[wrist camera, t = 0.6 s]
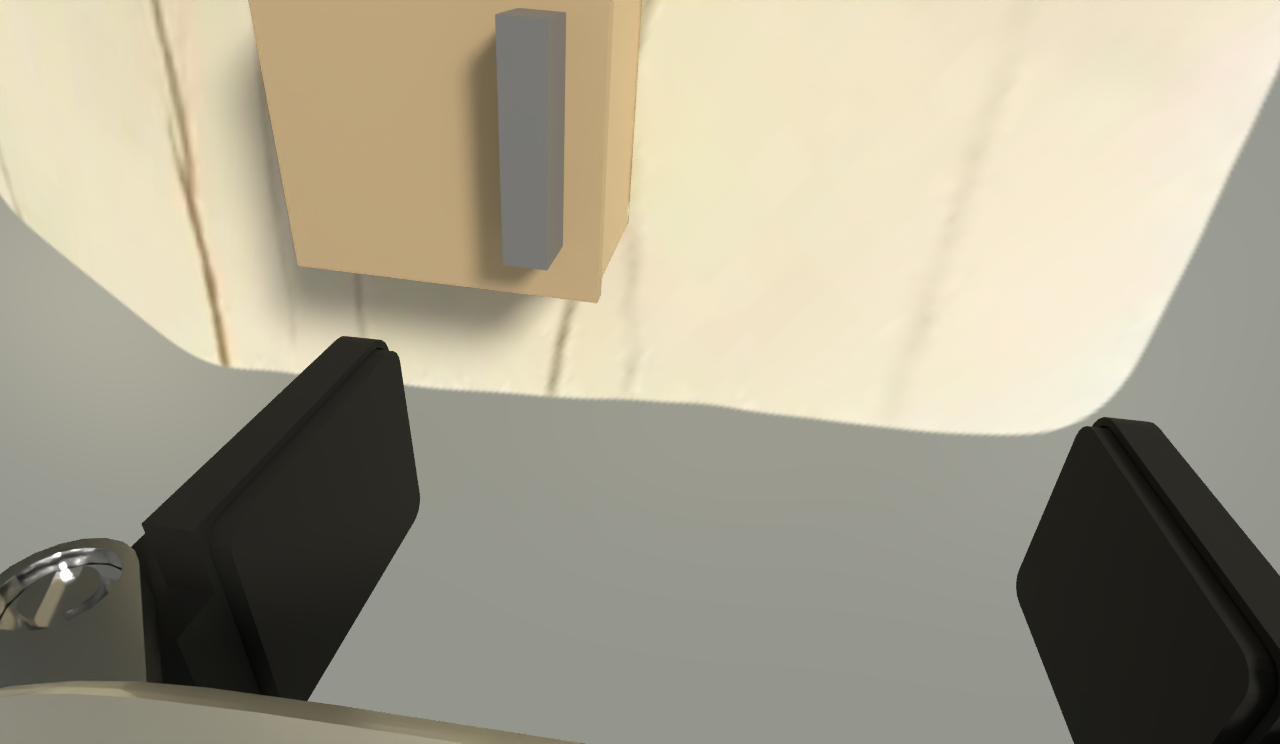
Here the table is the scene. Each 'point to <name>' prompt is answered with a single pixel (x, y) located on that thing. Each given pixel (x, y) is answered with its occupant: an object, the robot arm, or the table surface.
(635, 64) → the shipping box
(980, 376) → the table surface
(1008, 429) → the table surface
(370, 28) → the box lid
